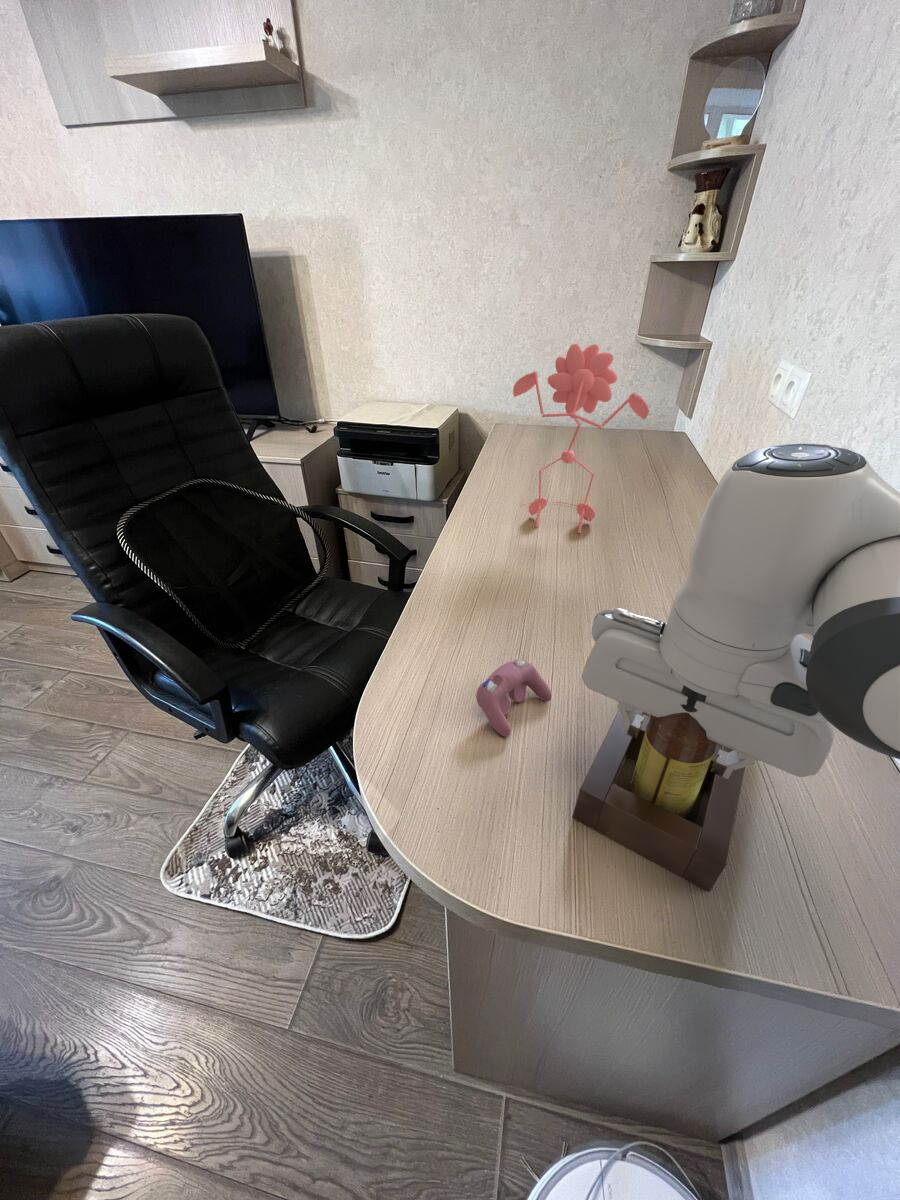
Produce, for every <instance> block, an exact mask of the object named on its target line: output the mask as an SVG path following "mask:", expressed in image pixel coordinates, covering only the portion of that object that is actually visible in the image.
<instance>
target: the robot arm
mask: <svg viewBox="0 0 900 1200" xmlns="http://www.w3.org/2000/svg"><path fill="white" fill-rule="evenodd" d="M672 600H673V601H672V603H671V607H670V610H669V612H668V615H667V618H666V620H665V622H663V621H660V620H657V619H654V618H651V617H648V616H644V615H639V614H636V613H633V612H630V610H628V609H625V608H621V607H614V608H613V609H603V610H600V611H599V612H597V614H596V615H595V616H594V618H593V623H592V627H591V637H592V639H593V641H594V645H593V646H592V648H591V650H590V653H589V655H588V657H587V659H586V661H585V664H584V667H583V669H582V673H581V680H582V682H583V683H584V685H585V687H586V688H587V689H589V690H591V691H592V692H595V693H598V694H600V695H602V696H605V697H607V698H610V699H612V700H615V701H617V702H618V704H617V709H618V711H620V714H621V716H622V718H623V721H624V722H625V724H624V727H623V730H622V733H625V734H627V735H629V736H632V737H634V738H637V735H638V733H639V731H640V728H641V726H642V723H643V720H644V717H643V716H641V715H638V714H637V713H636V710H635V708H636V709H638V710H640V711H643V712H645V713H646V715H647V714H648V715H649V716H650V715H652V716H655V717H662V716H663V717H664V716H667V715H671V714H675V713H681V712H682V713H684V712H685V713H689V714H690V715H691V716H693V717H694V718H695V719H696V720H697V721H698V723H699V724H700V725H701V726H702V727H703V728H704V729H705V731H706V736H707V738H708V739H709V740H712V741H714V742H716V743H719V744H721V745H724V746H726V747H728V748H731V749H733V750H734V751H731V752H729V753H728V752H725V751H723V750H720V749H719V751H718V753H717V756H716V757H715V759H714V762H713V765H712V766H713V767H712V769H711V772H712V773H715V774H717V775H719V776H721V777H723V778H725V779H728V778H729V776H730V775H731V773H732V771H733V769H734V770H736V769H740V768H743V767H745V768H746V767H749V766H754V764H755V762H756V760H757V761H760V762H762V763H764V764H766V765H769V766H770V767H774V768H776V769H778V770H781V771H783V772H786V773H788V774H790V775H792V776H795V777H797V778H806V777H810V776H815V775H817V774H818V773H819V772H820V770H821V769H822V768H823V766H824V764H825V763H826V761H827V759H828V756H829V754H830V752H831V749H832V747H833V744H834V741H835V733H836V732H835V731H836V730H835V729H837V730H838V731H839V732H840V733H842V734H844V735H845V736H847V737H849V739H851V740H853V741H855V742H857V743H859V744H860V745H863V746H865V747H866V748H868V749H870V750H873V751H875V752H878V753H879V754H882V755H885V756H888V757H891V758H894V759H897V760H900V491H898V490H897V489H896V488H895V487H893V486H892V485H890V483H888V482H887V481H885V479H883V477H881V476H880V475H879V474H878V473H877V472H876V471H875V470H874V468H873V467H872V466H871V464H870V462H869V460H868V459H867V458H866V457H864V455H862V454H861V453H858V452H856V451H853V450H850V449H848V448H843V447H836V446H831V445H830V444H820V443H803V442H802V443H785V444H776V445H772V446H768V447H762V448H759V449H755V450H753V451H750V452H749V453H747V454H745V455H744V456H742V457H740V458H738V459H737V460H736V461H734V462H733V464H731V465H730V466H729V468H727V469H726V471H725V472H724V474H723V475H722V477H720V480H719V481H718V483H717V485H716V486H715V488H714V490H713V492H712V493H711V496H710V497H709V500H708V502H707V505H706V507H705V509H704V512H703V514H702V517H701V519H700V521H699V523H698V527H697V529H696V532H695V535H694V538H693V541H692V544H691V547H690V550H689V553H688V572H687V575H686V577H685V580H683V582H682V584H681V585H680V586H679V587H678V589H677V590H676V592H675V595H674V597H673V599H672ZM802 634H808V635H811V636H813V637H812V640H811V639H809V638H807V637H806V636H804V635H802ZM684 685H685V686H686V687H688V688H690V689H691V690H693V691H695V692H697V693H700V694H702V695H706V696H707V697H706V701H705V702H701V701H697V702H696V704H695V707H694V708H696V709H697V710H698V711H697V712H694V713H693V712H687V711H685V710H684V709H683V707H682V706H681V704H685V705H686V704H687V699H688V697H687V696H685V695H684V694H682V693H681V692H682V689H683V686H684Z"/></svg>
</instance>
